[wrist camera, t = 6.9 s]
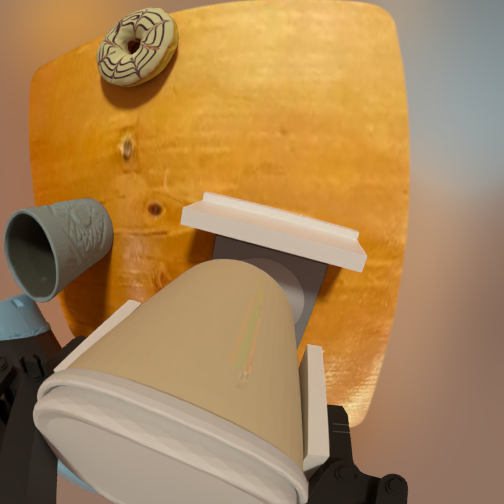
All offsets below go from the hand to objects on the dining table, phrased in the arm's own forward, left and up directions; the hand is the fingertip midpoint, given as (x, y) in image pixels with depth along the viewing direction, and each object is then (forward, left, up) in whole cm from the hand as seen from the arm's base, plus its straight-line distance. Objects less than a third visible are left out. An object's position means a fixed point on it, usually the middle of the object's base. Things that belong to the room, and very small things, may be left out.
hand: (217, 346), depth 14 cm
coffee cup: (0, 0, -3) cm, 3 cm away
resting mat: (-6, -1, -17) cm, 18 cm away
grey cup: (-4, +23, -17) cm, 29 cm away
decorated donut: (+20, +19, -17) cm, 33 cm away
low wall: (+3, -1, -17) cm, 17 cm away
